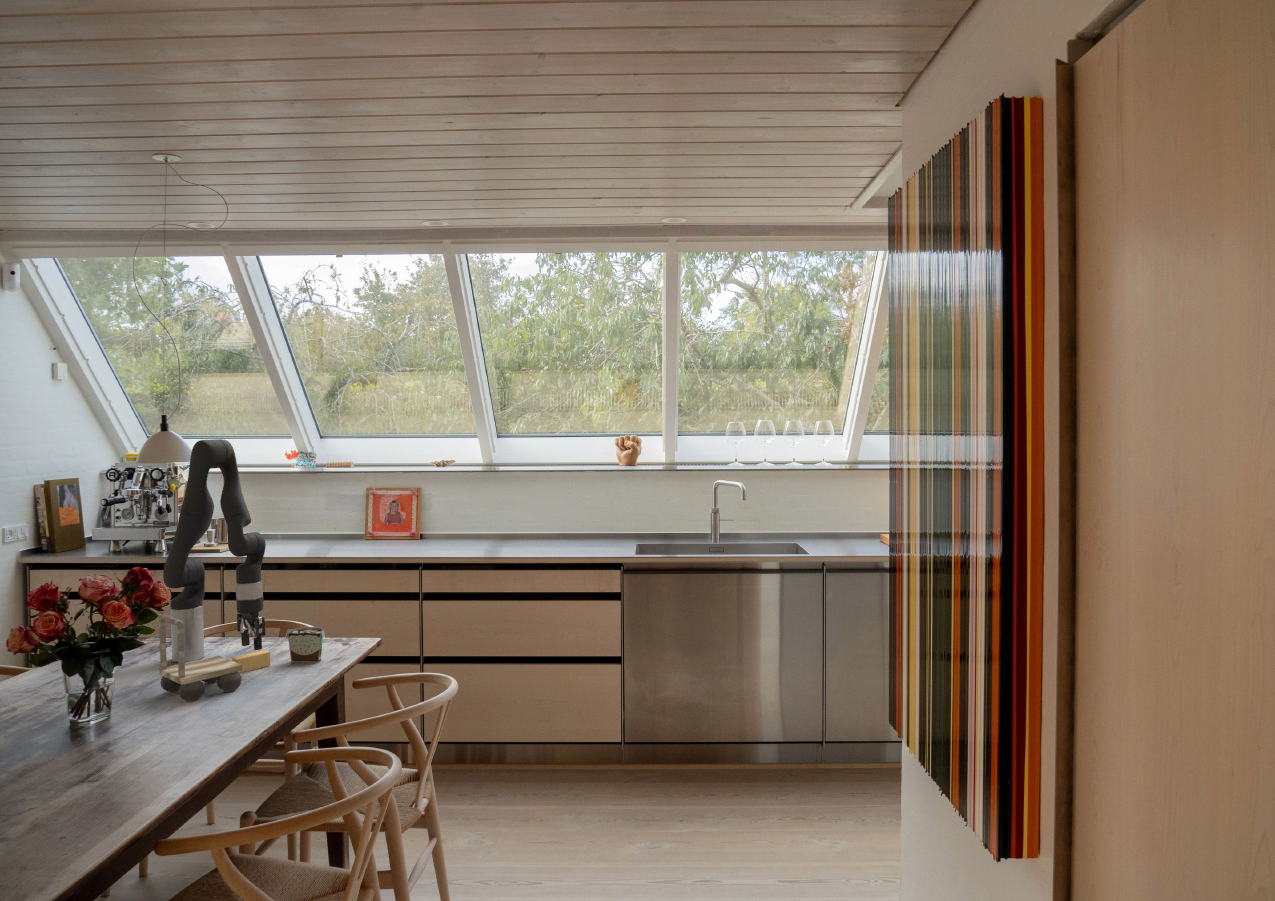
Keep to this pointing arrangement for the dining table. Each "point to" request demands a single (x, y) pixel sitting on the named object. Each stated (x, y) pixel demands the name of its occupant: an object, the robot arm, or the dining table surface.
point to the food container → (305, 644)
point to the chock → (253, 660)
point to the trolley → (194, 668)
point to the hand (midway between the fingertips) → (251, 647)
